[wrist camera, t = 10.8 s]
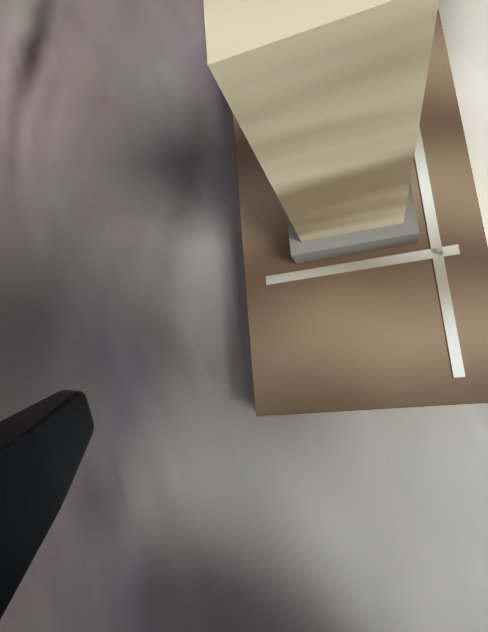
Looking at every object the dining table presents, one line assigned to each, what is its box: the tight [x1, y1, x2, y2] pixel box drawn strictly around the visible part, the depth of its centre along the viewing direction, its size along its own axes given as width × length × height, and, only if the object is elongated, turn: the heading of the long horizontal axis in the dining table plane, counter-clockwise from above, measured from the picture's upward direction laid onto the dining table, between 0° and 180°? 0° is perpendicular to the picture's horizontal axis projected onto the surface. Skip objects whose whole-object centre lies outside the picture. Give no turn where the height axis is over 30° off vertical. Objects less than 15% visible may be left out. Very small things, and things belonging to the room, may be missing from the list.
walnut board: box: [232, 10, 488, 416], centre depth 19 cm, size 24×10×2 cm, turn 4°
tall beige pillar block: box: [203, 0, 439, 264], centre depth 12 cm, size 5×5×11 cm
